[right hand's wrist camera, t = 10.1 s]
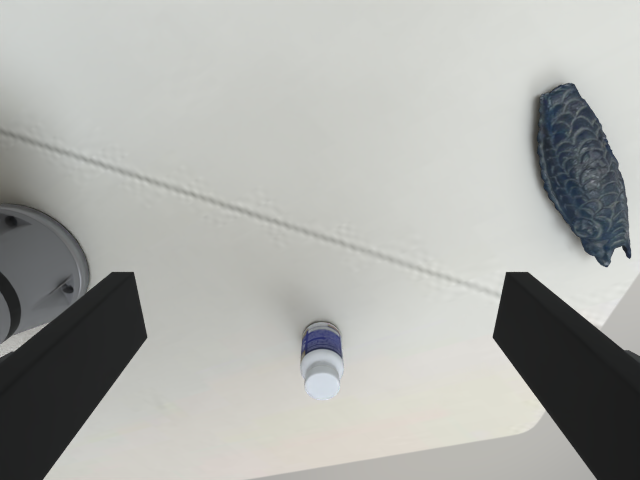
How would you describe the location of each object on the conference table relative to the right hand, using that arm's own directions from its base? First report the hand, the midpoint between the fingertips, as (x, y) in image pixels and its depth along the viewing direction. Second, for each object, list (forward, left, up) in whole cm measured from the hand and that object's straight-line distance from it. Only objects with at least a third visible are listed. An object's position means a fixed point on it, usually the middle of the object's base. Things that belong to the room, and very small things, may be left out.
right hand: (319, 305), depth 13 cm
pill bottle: (-10, -20, -29) cm, 37 cm away
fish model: (+25, -13, -29) cm, 41 cm away
